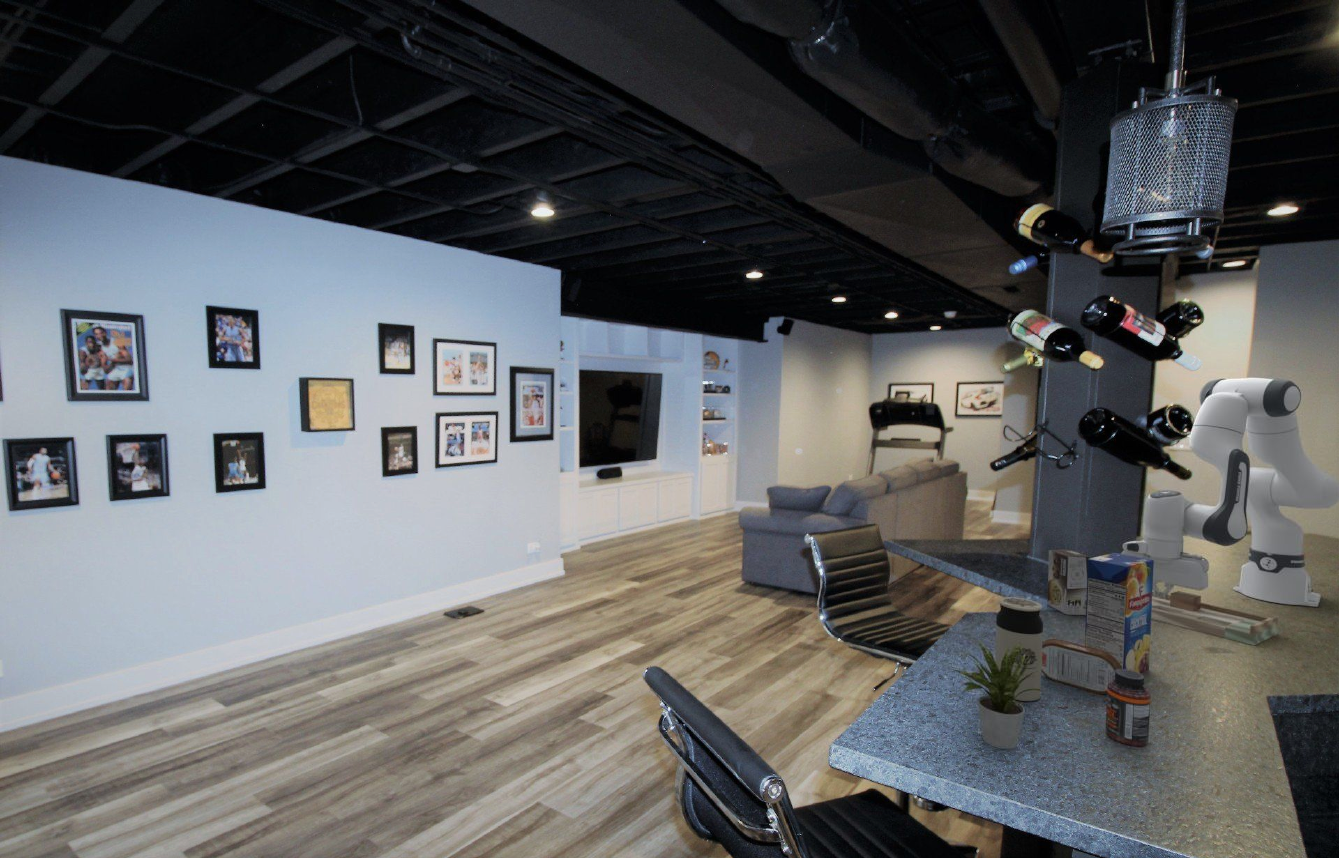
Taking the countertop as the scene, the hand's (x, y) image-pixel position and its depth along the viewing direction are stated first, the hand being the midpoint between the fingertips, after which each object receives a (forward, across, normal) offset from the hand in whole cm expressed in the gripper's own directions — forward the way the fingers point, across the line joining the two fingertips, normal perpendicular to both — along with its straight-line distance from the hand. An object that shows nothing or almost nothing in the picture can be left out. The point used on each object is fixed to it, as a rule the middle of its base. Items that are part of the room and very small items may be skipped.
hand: (1160, 597), depth 175 cm
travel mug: (+4, -11, +86) cm, 87 cm away
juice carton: (+4, -14, +56) cm, 58 cm away
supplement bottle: (+4, -30, +86) cm, 91 cm away
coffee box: (+4, +13, +23) cm, 27 cm away
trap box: (+4, -9, +3) cm, 10 cm away
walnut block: (+1, -6, 0) cm, 6 cm away
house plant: (+4, -19, +105) cm, 107 cm away
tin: (+4, -15, +72) cm, 74 cm away
